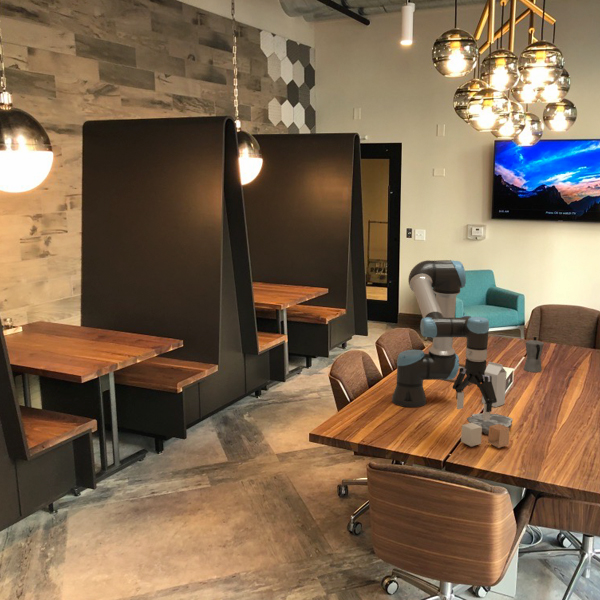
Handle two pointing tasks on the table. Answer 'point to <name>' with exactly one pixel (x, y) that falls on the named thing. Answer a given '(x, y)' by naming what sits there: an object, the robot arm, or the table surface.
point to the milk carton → (497, 382)
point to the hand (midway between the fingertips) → (472, 414)
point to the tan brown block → (498, 435)
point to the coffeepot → (533, 355)
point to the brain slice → (490, 421)
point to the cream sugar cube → (471, 434)
